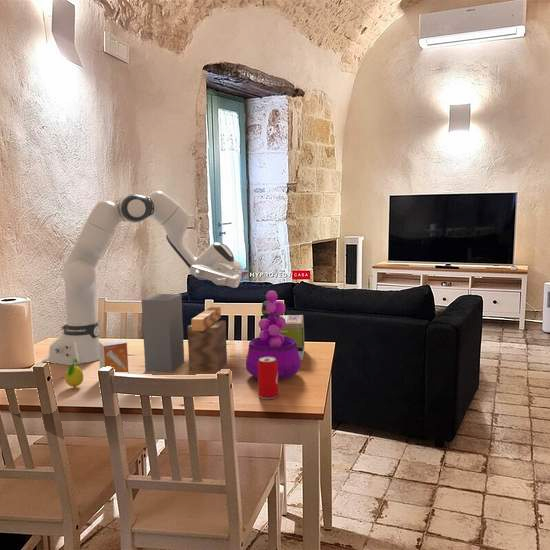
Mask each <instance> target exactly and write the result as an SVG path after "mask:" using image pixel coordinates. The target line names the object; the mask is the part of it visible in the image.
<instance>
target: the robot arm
mask: <svg viewBox="0 0 550 550" xmlns="http://www.w3.org/2000/svg"><path fill="white" fill-rule="evenodd" d="M149 217H151V218H153V219H154V220H155V221H156V222H157V223H158V224H159V225H161V226H162V227H163V229H164V230H165V233H166V236H165V239H166V240H167V242H168V244H169V245H170V247H171V248H172V249H173V250H174V251H175V252H176V254H177V256H179V258H180V259H181V260H182V261H183V262H184V263H185V265H186V267H188V270H189V274H190V275H191V276H193V277H195V278H196V279H197V280H201V281H206V280H207V281H211V282H212V283H213V284H215V285H216V286H227V287H230V288H233V289H234V288H238V287H239V285H240V282H241V280H242V279H241V278H242V273H243V266H242V264H241V263H240V262H239V261H237V260H235V257H234V254H233V252H232V251H231V249H230V248H229V247H228V246H227V245H225V244H224V243H222V242H212V244H210V245H209V246H208V247H207V248H206V249H205V250H204V251H203V252H202V253H200V255H199V256H197V257H196V256H194V254H193V253H192V252H191V251H190V249H189V248H188V247H187V246H186V244H185V242H184V236H185V233H186V231H187V229H188V226H189V221H190V219H189V215H188V212H187V211H186V210H185V208H184V207H183V206H181V205H180V204H179V203H178V202H177V201H175V199H173V198H172V197H171V196H169V195H167V194H166V193H164V192H162V191H160V190H155V191H153V192H151V193H150V194H149V195H148V196H144V195H141V194H132V193H131V194H127V195H125V196H122V197H121V198H119V199H118V200H117V201H115V202H112V201H110V200H100V201H98V202H97V203H96V204H95V206H94V207H93V209H91V211H90V214H89V215H88V217H87V219H86V220H85V223H84V225H83V227H82V230H81V232H80V234H79V236H78V238H77V240H76V242H75V244H74V246H73V248H72V250H71V252H70V254H69V256H67V257H68V258H67V259H66V261H65V263H64V265H63V267H62V273H61V274H62V277H63V279H64V285H65V290H64V291H65V313H66V315H65V316H66V317H65V318H66V324H64V325H63V326H61V327H60V328H61V329H60V330H61V331H62V330H63V332H62V334H61V335H60V336H59V337H58V338H57V339H55V340H54V341H53V342H51V344H50V346H49V347H48V348H49V349H48V350H49V351H48V355H46V356H44V357H43V358H42V362H43V361H49V362H51V363H50V364H56V363H58V364H57V365H67V366H70V365H72V364H73V358H74V360H75V359H77V361H78V364H77V363H75V362H74V365H75V366H77V365H80V364H86V363H93V362H96V361H98V360H99V361H100V358H99V342H100V338H99V335H100V327H99V321H98V319H97V318H98V316H97V315H98V314H97V273H96V268H97V267H98V265H99V263H100V262H101V259H102V257H103V256H104V254H105V253H106V251H107V249H108V247H109V244H110V243H111V240H112V238H113V236H114V234H115V231H116V228H117V227H118V225H119V224H120V223H121V222H127V223H132V224H133V223H134V224H135V223H141V222H142V221H144V220H146V219H147V218H149Z"/></svg>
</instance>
